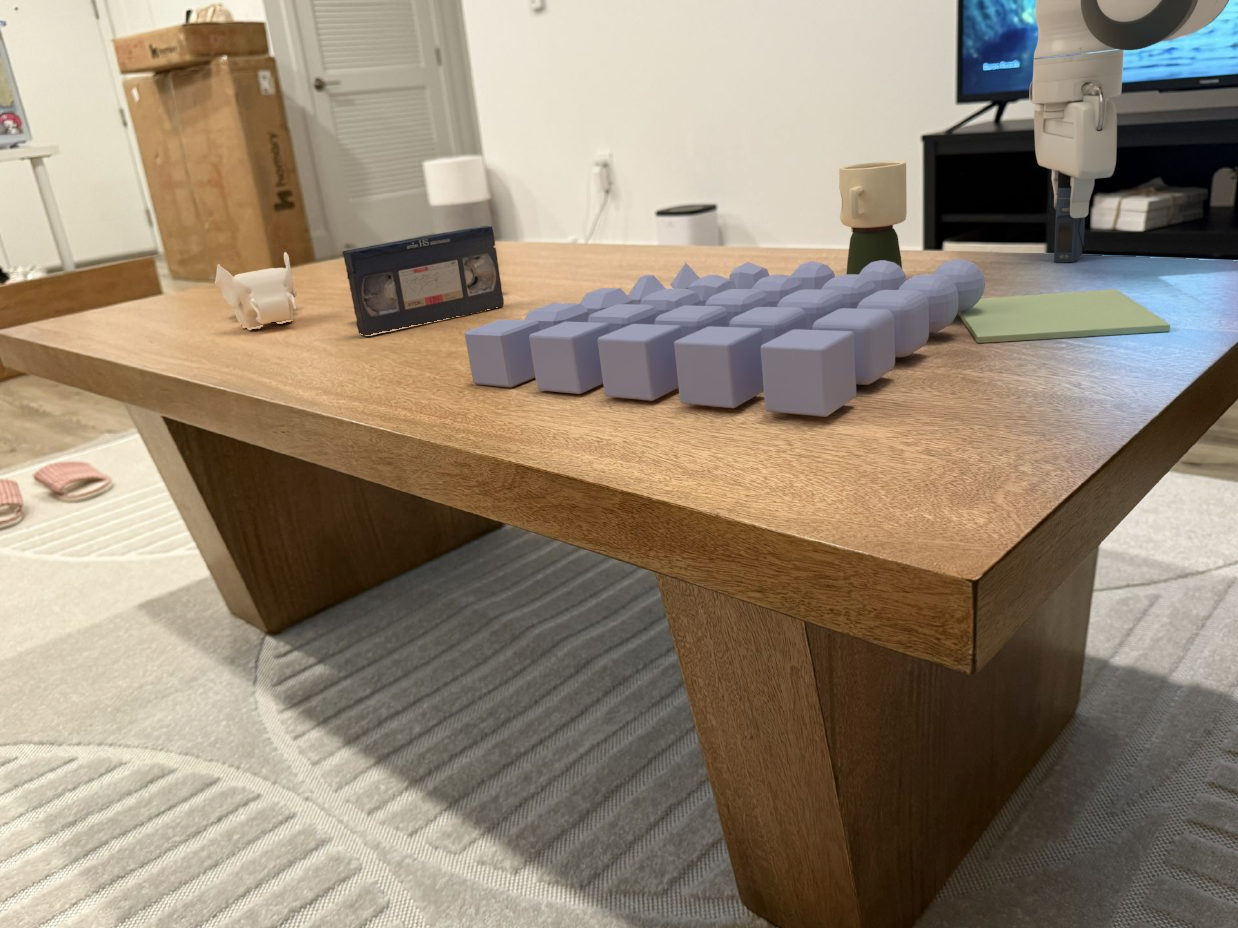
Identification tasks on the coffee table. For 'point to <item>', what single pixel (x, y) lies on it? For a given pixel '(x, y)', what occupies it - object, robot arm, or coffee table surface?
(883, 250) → the character mug
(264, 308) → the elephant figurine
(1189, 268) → the coffee table surface
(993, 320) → the mat
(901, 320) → the blocks
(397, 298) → the vhs cassette tape
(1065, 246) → the vaping device
